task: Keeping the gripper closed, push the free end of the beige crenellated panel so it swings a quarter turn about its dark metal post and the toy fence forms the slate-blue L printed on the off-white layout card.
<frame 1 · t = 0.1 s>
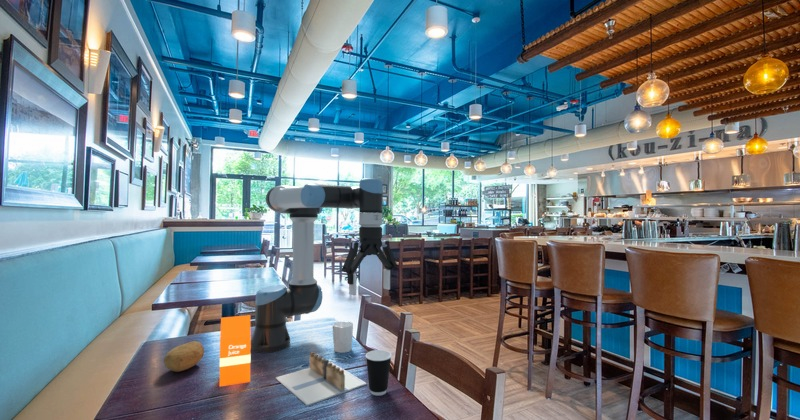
hand: (370, 291, 119), 28 cm above the table, fingers open, 13 cm apart
beige crenellated panel: (317, 363, 122), point 3 cm above the table, hinge at 0.0°
layout card: (320, 381, 116), on the table
orange juice: (235, 379, 117), on the table
fixed fence panel: (326, 379, 117), resting on layout card
potato: (183, 369, 124), on the table
dixie cup: (378, 392, 110), on the table
white cup: (342, 350, 143), on the table
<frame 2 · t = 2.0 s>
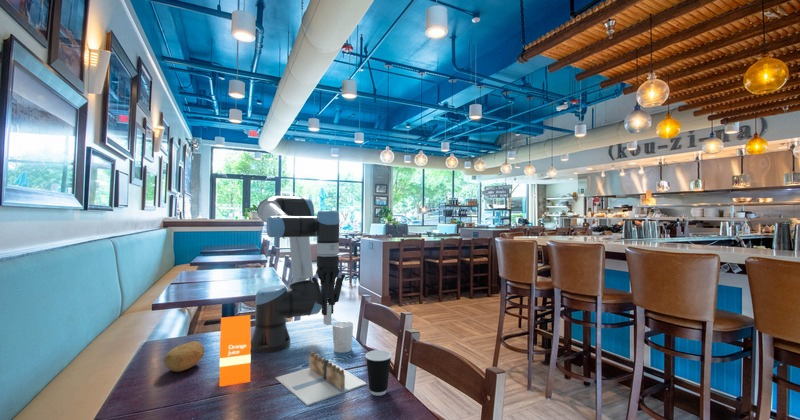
hand: (327, 323, 126), 15 cm above the table, fingers closed
nothing on the table moved.
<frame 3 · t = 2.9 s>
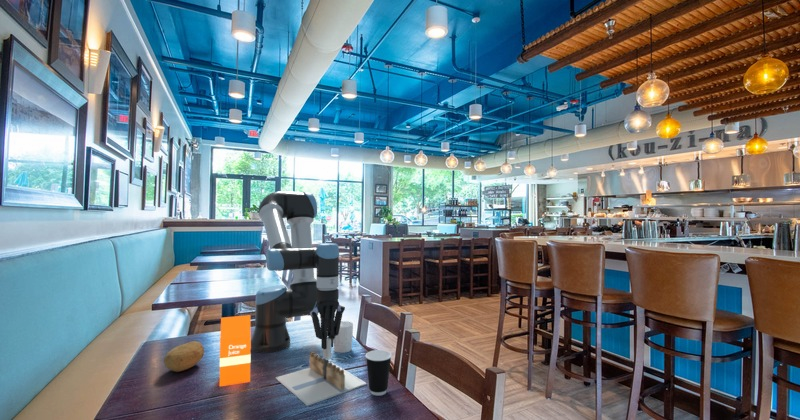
hand: (327, 357, 125), 4 cm above the table, fingers closed
nothing on the table moved.
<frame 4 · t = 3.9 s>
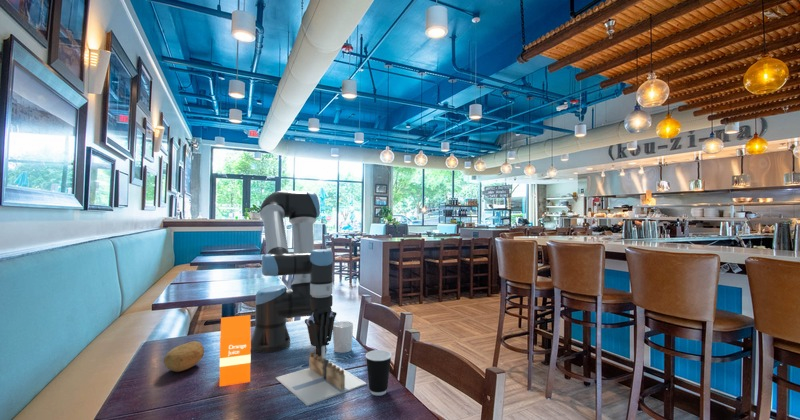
hand: (320, 364, 125), 2 cm above the table, fingers closed
beige crenellated panel: (317, 363, 121), point 3 cm above the table, hinge at 0.7°, touching gripper
everything else where it was.
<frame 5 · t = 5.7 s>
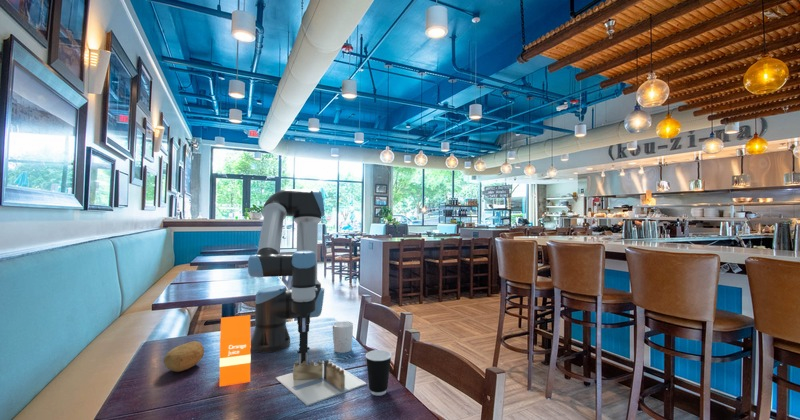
hand: (303, 371, 119), 2 cm above the table, fingers closed
beige crenellated panel: (308, 369, 117), point 3 cm above the table, hinge at 54.9°, touching gripper
everything else where it was.
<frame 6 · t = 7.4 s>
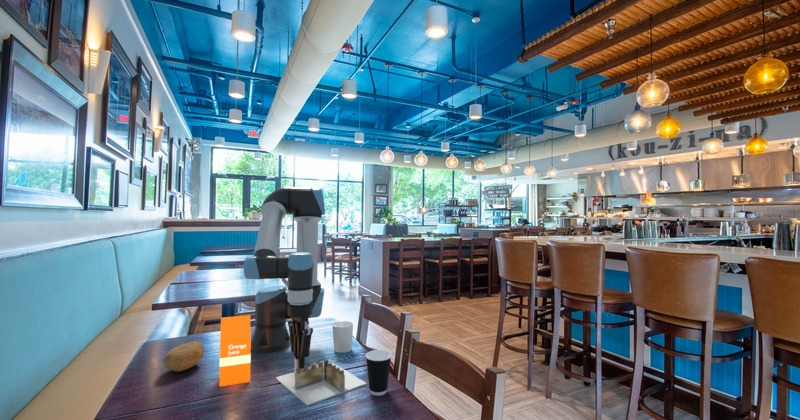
hand: (299, 377, 115), 2 cm above the table, fingers closed
beige crenellated panel: (309, 373, 114), point 3 cm above the table, hinge at 88.8°
everything else where it was.
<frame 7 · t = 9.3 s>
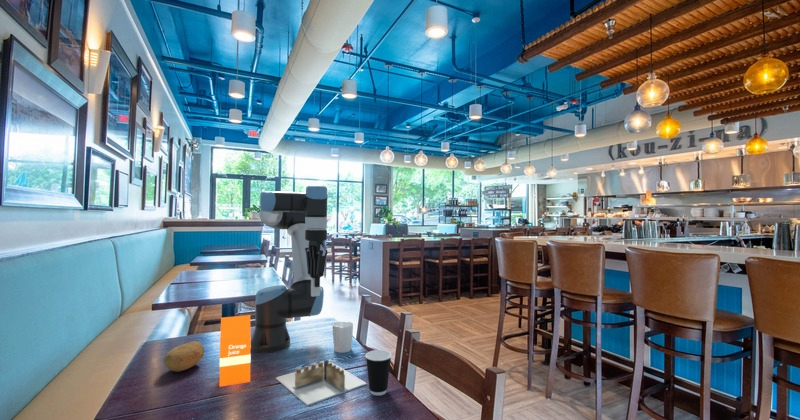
hand: (315, 295, 130), 24 cm above the table, fingers closed
nothing on the table moved.
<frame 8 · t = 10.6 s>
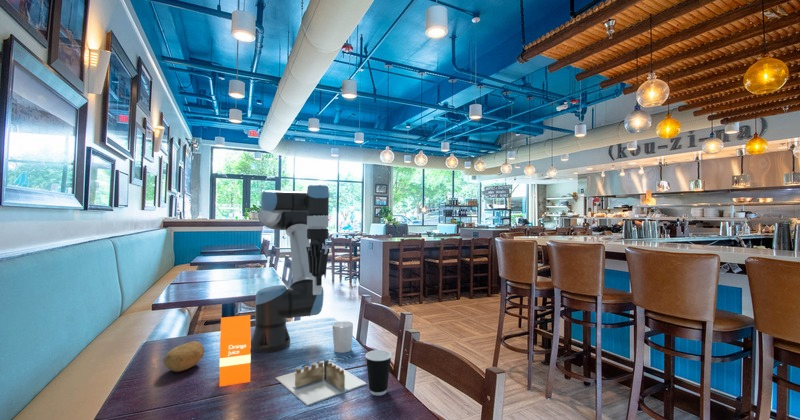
hand: (317, 294, 131), 24 cm above the table, fingers closed
nothing on the table moved.
at the end: beige crenellated panel at +89° (first picture: +0°); beige crenellated panel touching nothing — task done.
